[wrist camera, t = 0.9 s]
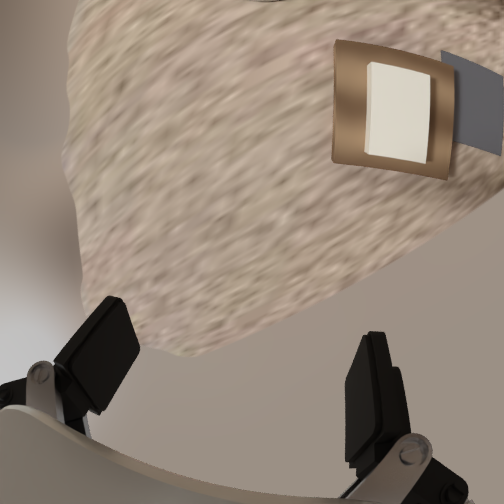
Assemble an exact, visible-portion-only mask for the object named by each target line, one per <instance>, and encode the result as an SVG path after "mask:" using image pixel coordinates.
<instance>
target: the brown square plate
mask: <svg viewBox="0 0 504 504" xmlns="http://www.w3.org/2000/svg"><path fill="white" fill-rule="evenodd" d="M371 62H376V63H381V64H386V65H391V66H396V67H400V68H404V69H409V70H413V71H416V72H420V73H424V74H427V75H430V117H429V133H428V146H427V156H426V164H424V163H419V162H413V161H408V160H402V159H396V158H390V157H384V156H377V155H370V154H367V153H366V152H364V150H365V135H366V115H367V65H368V64H369V63H371ZM453 122H454V66H452V65H449V64H446V63H443V62H440V61H437V60H434V59H430V58H427V57H424V56H420V55H417V54H413V53H409V52H405V51H401V50H397V49H392V48H388V47H383V46H378V45H372V44H367V43H360V42H354V41H346V40H338V39H336V41H335V44H334V111H333V138H332V157H331V159H332V161H333V162H334V163H337V164H347V165H356V166H364V167H371V168H379V169H386V170H392V171H399V172H405V173H411V174H416V175H422V176H427V177H432V178H437V179H442V180H447V179H448V173H449V165H450V157H451V148H452V137H453Z"/></svg>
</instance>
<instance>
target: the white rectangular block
mask: <svg viewBox="0 0 504 504" xmlns="http://www.w3.org/2000/svg"><path fill="white" fill-rule="evenodd" d="M429 117H430V75H427V74H424V73H420V72H416V71H413V70H409V69H404V68H400V67H396V66H391V65H386V64H381V63H376V62H371V63H369V64H368V65H367V115H366V135H365V150H364V152H366V153H367V154H370V155H377V156H384V157H390V158H396V159H402V160H408V161H413V162H419V163H424V164H426V156H427V146H428V133H429Z"/></svg>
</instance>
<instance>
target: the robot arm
mask: <svg viewBox="0 0 504 504" xmlns="http://www.w3.org/2000/svg"><path fill="white" fill-rule="evenodd" d="M251 1H277V0H251ZM139 351H140V345H139V342H138V339H137V337H136V334H135V331H134V328H133V325H132V323H131V320H130V317H129V314H128V311H127V308H126V305H125V303H124V302H123V300H122V299H121V298H118V297H113V296H107V297H106V298H105V299H104V300H103V301H102V302H101V304H100V305H99V306H98V307H97V308H96V309H95V310H94V312H93V313H92V314H91V315H90V316H89V317H88V319H87V320H86V321H85V322H84V323H83V325H82V326H81V327H80V328H79V329H78V330H77V332H76V333H75V334H74V335H73V336H72V338H71V339H70V340H69V341H68V343H67V344H66V345H65V346H64V348H63V349H62V350H61V352H60V353H59V354H58V355H57V356H56V358H55V359H54V363H55V365H54V366H53V365H52V364H51V363H50V362H48V361H39V362H37V363H35V364H34V365H32V367H31V368H30V369H29V371H28V374H27V377H26V378H22V379H19V380H15V381H11V382H8V383H4V384H2V385H1V386H0V504H475V503H474V502H473V500H470V501H469V500H468V498H467V497H468V485H467V483H466V482H465V481H464V480H463V479H462V478H461V477H459V476H458V475H456V474H455V473H454V472H452V471H451V470H450V469H448V468H447V467H445V466H444V465H443V464H441V463H440V462H439V461H437V460H436V459H434V458H433V457H432V451H433V450H432V445H431V443H430V442H429V440H428V439H427V438H426V437H425V436H423V435H420V434H417V433H411V428H410V421H409V414H408V408H407V402H406V396H405V390H404V385H403V380H402V375H401V371H400V369H399V368H398V367H392V362H391V357H390V353H389V348H388V344H387V339H386V335H385V333H384V332H376V331H375V332H373V331H369V332H368V334H367V335H363V337H362V339H361V342H360V345H359V347H358V350H357V352H356V355H355V358H354V360H353V363H352V365H351V368H350V370H349V372H348V375H347V377H346V381H345V419H346V421H345V422H346V426H345V431H346V432H345V435H346V437H345V461H346V462H349V468H356V476H357V477H358V478H357V479H356V480H355V481H354V482H353V483H352V484H351V485H350V486H349V487H348V488H347V489H346V490H345V491H344V492H343V493H342V494H341V495H340V496H339V497H338V498H318V497H316V498H315V497H297V496H286V495H277V494H268V493H261V492H254V491H247V490H241V489H236V488H231V487H226V486H221V485H216V484H212V483H208V482H204V481H200V480H196V479H193V478H189V477H186V476H182V475H178V474H176V473H172V472H169V471H166V470H163V469H160V468H158V467H155V466H152V465H149V464H147V463H144V462H141V461H139V460H136V459H134V458H131V457H129V456H127V455H124V454H122V453H120V452H118V451H115V450H113V449H111V448H109V447H107V446H105V445H103V444H100V443H98V442H97V441H94V440H93V439H91V434H90V430H89V425H88V420H87V414H86V413H87V412H88V410H89V411H91V412H93V413H95V414H97V415H100V414H101V412H102V411H104V410H106V408H107V407H108V405H109V403H110V401H111V400H112V398H113V396H114V394H115V392H116V391H117V389H118V388H119V386H120V384H121V383H122V381H123V379H124V377H125V376H126V374H127V372H128V371H129V369H130V367H131V366H132V364H133V362H134V361H135V359H136V358H137V356H138V354H139Z"/></svg>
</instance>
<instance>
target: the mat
mask: <svg viewBox="0 0 504 504" xmlns="http://www.w3.org/2000/svg"><path fill="white" fill-rule="evenodd" d="M441 58H442V62H443V63H446V64H449V65H452V66H454V122H453V137H452V141H455V142H459V143H462V144H466V145H469V146H472V147H475V148H478V149H481V150H484V151H487V152H490V153H493V154H496V155H499V156H501V150H502V139H503V122H504V86H503V76H501V75H499V74H497V73H495V72H493V71H491V70H489V69H487V68H485V67H483V66H480V65H478V64H476V63H474V62H471V61H469V60H466V59H464V58H461V57H459V56H456V55H454V54H451V53H448V52H445V51H443V50H442V51H441Z"/></svg>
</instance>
